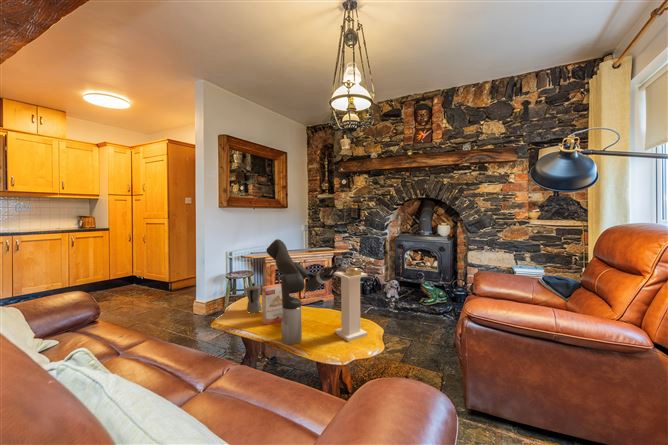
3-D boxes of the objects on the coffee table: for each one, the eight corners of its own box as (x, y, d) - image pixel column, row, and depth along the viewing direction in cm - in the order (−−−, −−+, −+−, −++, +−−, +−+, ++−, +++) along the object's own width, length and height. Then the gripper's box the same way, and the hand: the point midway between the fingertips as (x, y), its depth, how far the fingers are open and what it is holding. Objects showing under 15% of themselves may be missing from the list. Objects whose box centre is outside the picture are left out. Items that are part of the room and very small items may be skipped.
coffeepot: (248, 307, 188) (247, 280, 187) (263, 307, 189) (262, 280, 188) (243, 317, 173) (242, 287, 172) (259, 316, 174) (258, 287, 173)
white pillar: (348, 341, 141) (348, 277, 139) (334, 332, 151) (334, 272, 149) (367, 335, 148) (367, 274, 146) (353, 327, 158) (352, 269, 156)
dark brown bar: (353, 276, 141) (353, 270, 141) (330, 268, 158) (330, 263, 158) (361, 274, 144) (361, 268, 144) (338, 267, 161) (338, 261, 161)
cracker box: (266, 325, 161) (265, 289, 159) (262, 322, 165) (261, 286, 164) (288, 319, 169) (288, 284, 167) (284, 316, 174) (283, 282, 172)
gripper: (312, 270, 167) (326, 260, 153) (332, 267, 174) (347, 257, 161) (316, 283, 164) (330, 273, 151) (336, 279, 171) (351, 270, 158)
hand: (339, 265), depth 156 cm, fingers closed on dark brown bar, 2 cm apart
